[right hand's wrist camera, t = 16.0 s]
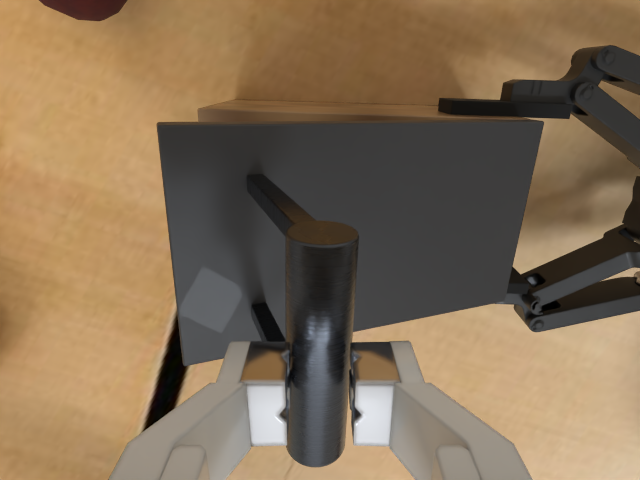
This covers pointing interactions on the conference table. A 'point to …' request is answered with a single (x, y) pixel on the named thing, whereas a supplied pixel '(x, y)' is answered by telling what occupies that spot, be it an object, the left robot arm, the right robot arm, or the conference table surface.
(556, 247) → the conference table surface
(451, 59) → the conference table surface
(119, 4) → the potato
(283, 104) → the chest
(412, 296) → the lid
